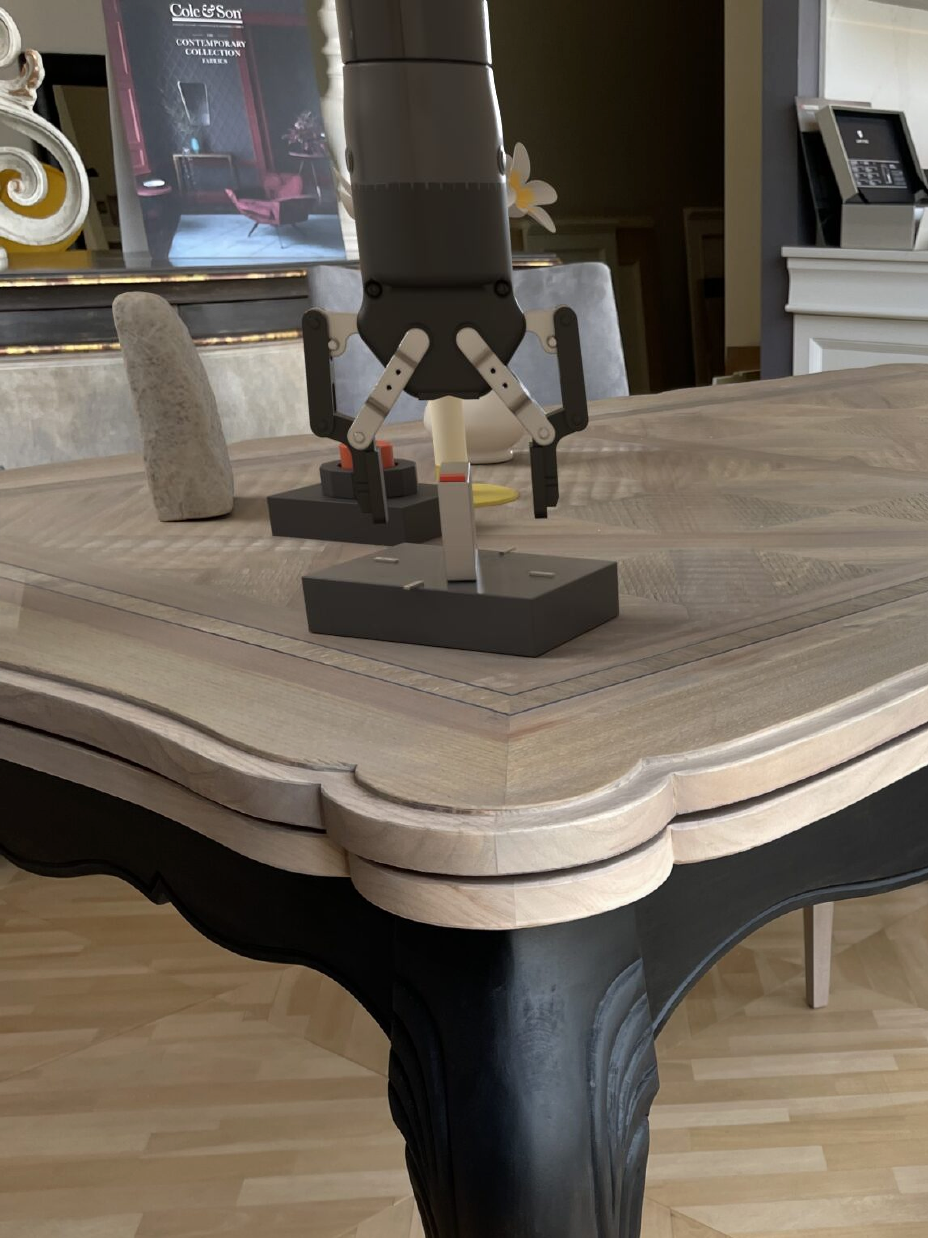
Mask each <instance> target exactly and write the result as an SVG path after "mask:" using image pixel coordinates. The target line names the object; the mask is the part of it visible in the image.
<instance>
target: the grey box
mask: <svg viewBox="0 0 928 1238" xmlns="http://www.w3.org/2000/svg"><path fill="white" fill-rule="evenodd" d="M436 484H437V489H438V499H439V510H440V520H441V531H442V536H441V540H442V546H443V551H444V562H445V572H446V580H447V581H476V580H477V563H478V549H479V548H478V539H477V526H476V516H475V515H476V514H475V508H474V502H473V490H472V484H473V480H472V468H471V464H470V462H442V463H441V465H440V471H439V476H438V481H437V480H436Z"/></svg>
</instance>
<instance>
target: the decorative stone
mask: <svg viewBox="0 0 928 1238" xmlns="http://www.w3.org/2000/svg"><path fill="white" fill-rule="evenodd" d="M111 305H112V315H113V323H114V326H115V329H116V333H117V337H118V343H119V347H120V351H121V356H122V360H123V365H124V369H125V374H126V378H127V382H128V385H129V388H130V392H131V397H132V404H133V407H134V411H135V412H134V413H135V416H136V421H137V427H138V435H139V439H140V446H141V447H140V448H141V454H142V463H143V467H144V472H145V473H144V474H145V477H146V478H145V479H146V482H147V486H148V491H149V495H150V499H151V503H152V507H153V509H154V514H155V517H156V519H157V520H159V521H160V522H163V523H164V522H174V521H175V522H176V521H184V520H192V519H194V520H196V519H197V520H199V519H206V518H213V517H218V516H222V515H226V514H230V513H231V512H232V509H233V507H234V494H235V482H234V480H235V479H234V473H233V466H232V463H231V460H230V459H231V458H230V455H229V449H228V445H227V442H226V437H225V434H224V430H223V426H222V425H223V424H222V420H221V416H220V413H219V410H218V405H217V399H216V395H215V392H214V389H213V387H212V385H211V383H210V380H209V377H208V374H207V371H206V368H205V365H204V363H203V362H202V359H201V356H200V354H199V351H198V349H197V347H196V345H195V342H194V341H193V340H194V339H193V338H192V336H191V334H190V332H189V328H188V327H187V326H186V324H185V322H184V321H183V320H182V319H181V317H180V316H179V314H178V313H177V312H176V310H175V309H174V308H173V307H172V306H171V304H170V303H169V301H167V299H165V298H164V297H163V296H161V295H159V294H157V293H153V292H148V291H147V292H146V291H126V292H123V293H121V294H118V295H117V296H116V297H115V298H114V300H113V302H112V304H111Z"/></svg>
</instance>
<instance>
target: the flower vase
mask: <svg viewBox="0 0 928 1238" xmlns="http://www.w3.org/2000/svg"><path fill="white" fill-rule="evenodd" d="M505 156H506V171H505V175H506V188H507V202H508V215H509V218H516V219H517V218H522V217H524V216H525V215H528V216H529V217H531V218H533V220H535V221H536V222H537V223H539V224H540V225H541V226H542V227H543V228H545V229H546V230H547V231H549V232H551V233H553V234H554V233H556V231H557V230H556V227H555V224H554V221H553V219H552V218H551V216H550V215H549V214H548V212H547V211H546V210H545V209H543V208H542V207H540V206H543V205H544V206H545V205H552V204H554V203H555V202H557V199H558V194H557V192H556V190H555V188H554V187H553V186H552V185H550V184H549V183H548V182H545V181H543V180H540V179H539V180H537V179H535V180H530V181H529V182H527V181H528V180H529V178H530V174H531V162H530V157H529V154H528V150H527V149H526V147H525V146H524V144H523V143H521V142H520V141H519V142H517V143H516V144H515V146H514V150H513V157H512V156H511V155H510V154H507V153H505ZM332 168H333V171H334V173H335V175H336V178H337V179H338V181H339V183H340V185H341V186H342V188H343V189H344V191H346V193H344V192H343V191H342V192H341V191H340V193H339V197H340V199H341V203H342V205H343V207H344V209H345V211H346V213H347V215H348V216H349V217H350V218H351V219H352V220H353V221H355V217H354V209H353V200H352V191H351V183H349V182H348V181H347V180H346V178H345V177H344V176H343V175H342V174H341V173H340V172H339V170H337V168H336V167H334V166H332ZM462 403H463V415H464V426H465V438H466V450H467V461H468V462H470V465H481V464H483V465H484V464H485V465H486V464H495V463H496V464H497V463H504V462H508V461H510V460H512V459H513V457H514V451H513V449H512V447H514V446H515V445H516V444H517V443H519V442H520V441H521V440H522V438H523V437H524V435H525V433H526V432H527V430H526V429H525V428H524V426H523V425H522V424H521V423H520V421H519V420H518V419H517V418H516V417H515V415H514V414H513V413H512V412H511V411H510V410H509V409H508V408H507V406H506V405H505V404H504V403H503V401H502V400H501V399H500V398H499V396H498V395H497V394H496V393H495V391H494V390H492V391H491V392H490V393H488V394H487V395H485V396H483V397H480V399H474V400H464V399H462ZM422 422H423V426H424V429H425V431H426V432H427V435H428V436H429V437H430V438H431V439H432V440H433V434H432V424H431V413H430V403H429V400H426V403H425V406H424V410H423V415H422Z"/></svg>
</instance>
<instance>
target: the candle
mask: <svg viewBox="0 0 928 1238" xmlns="http://www.w3.org/2000/svg"><path fill="white" fill-rule="evenodd" d="M429 403H430V413H431V424H432V434H433V439H432V442H433V454H434V455H433V456H434V465H435V474H436V475H435V476H436V482H437V481H438V476H439V471H440V465H441V463H442V462H468V461H467V450H466V438H465V426H464V415H463V403H462V399H460V398H456V397H452V396H446V397H442V398H439V399H436V400H429ZM472 490H473V502H474V509H475V508H483V507H491V506H499V505H503V504H506V503H511V502H513V501H515V500H516V499H518V498H519V493H518V492H517V491H516V490H515V489H514V488H511V487H508V486H504V485H498V484H489V483H487V484H486V483H472Z"/></svg>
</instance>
